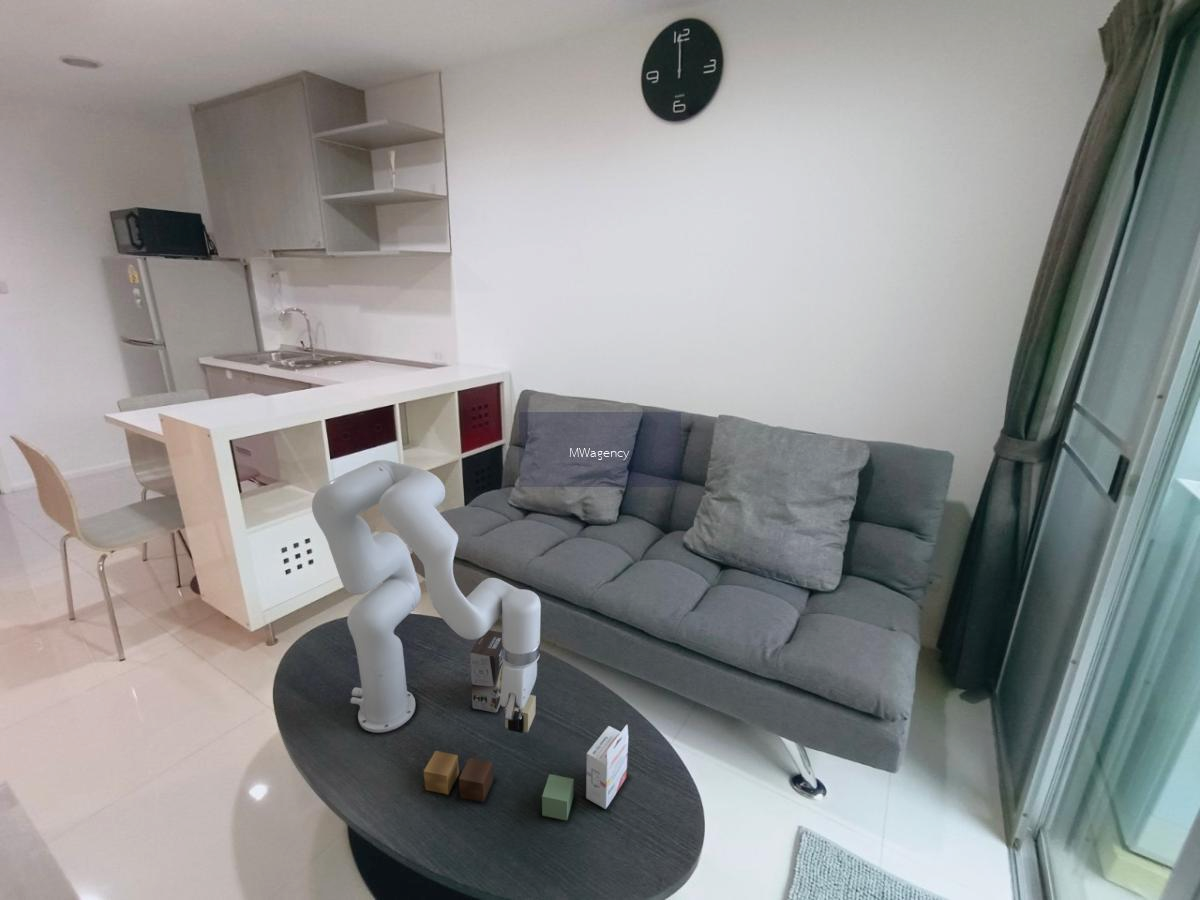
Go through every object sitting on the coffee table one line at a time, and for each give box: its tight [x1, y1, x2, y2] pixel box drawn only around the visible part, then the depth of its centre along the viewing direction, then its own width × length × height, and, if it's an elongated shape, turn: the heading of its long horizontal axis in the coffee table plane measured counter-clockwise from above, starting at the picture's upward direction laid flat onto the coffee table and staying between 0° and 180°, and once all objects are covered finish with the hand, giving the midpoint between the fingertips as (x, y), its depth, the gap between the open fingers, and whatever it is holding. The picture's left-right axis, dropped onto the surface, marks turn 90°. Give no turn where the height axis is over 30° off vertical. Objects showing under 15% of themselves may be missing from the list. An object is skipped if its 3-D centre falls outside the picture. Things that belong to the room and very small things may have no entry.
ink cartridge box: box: [585, 724, 630, 810], centre depth 110 cm, size 9×5×15 cm, turn 148°
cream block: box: [504, 694, 537, 733], centre depth 116 cm, size 5×5×5 cm
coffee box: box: [469, 630, 504, 714], centre depth 132 cm, size 9×6×16 cm
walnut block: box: [458, 757, 494, 803], centre depth 110 cm, size 5×5×5 cm
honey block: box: [423, 750, 460, 796], centre depth 112 cm, size 5×5×5 cm
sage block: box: [541, 773, 575, 822], centre depth 107 cm, size 5×5×5 cm
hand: (520, 719), depth 116 cm, fingers closed on cream block, 5 cm apart
